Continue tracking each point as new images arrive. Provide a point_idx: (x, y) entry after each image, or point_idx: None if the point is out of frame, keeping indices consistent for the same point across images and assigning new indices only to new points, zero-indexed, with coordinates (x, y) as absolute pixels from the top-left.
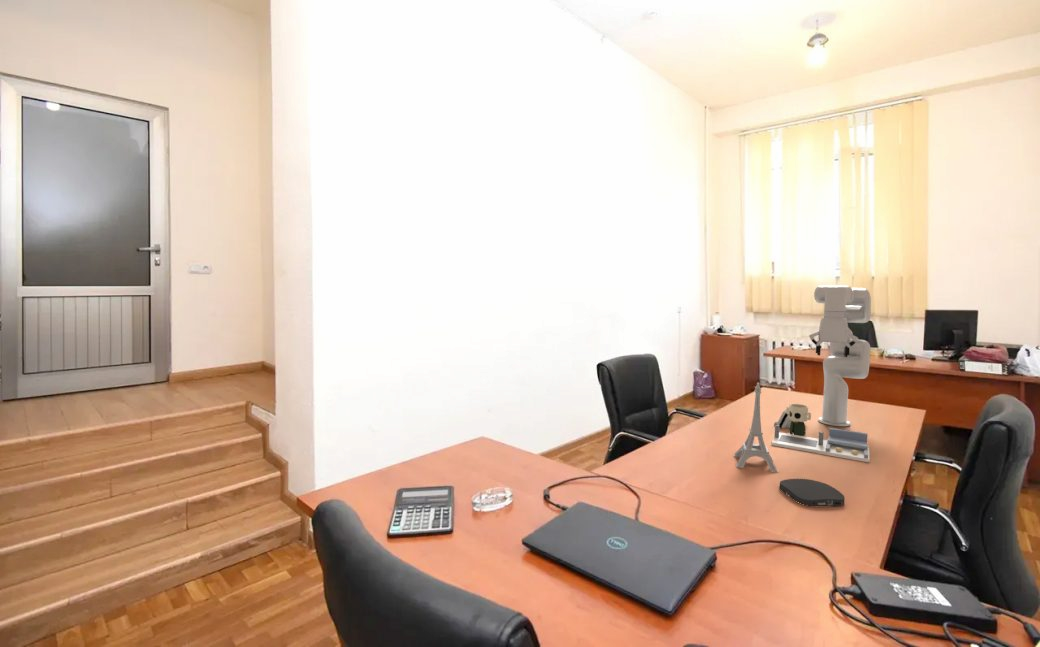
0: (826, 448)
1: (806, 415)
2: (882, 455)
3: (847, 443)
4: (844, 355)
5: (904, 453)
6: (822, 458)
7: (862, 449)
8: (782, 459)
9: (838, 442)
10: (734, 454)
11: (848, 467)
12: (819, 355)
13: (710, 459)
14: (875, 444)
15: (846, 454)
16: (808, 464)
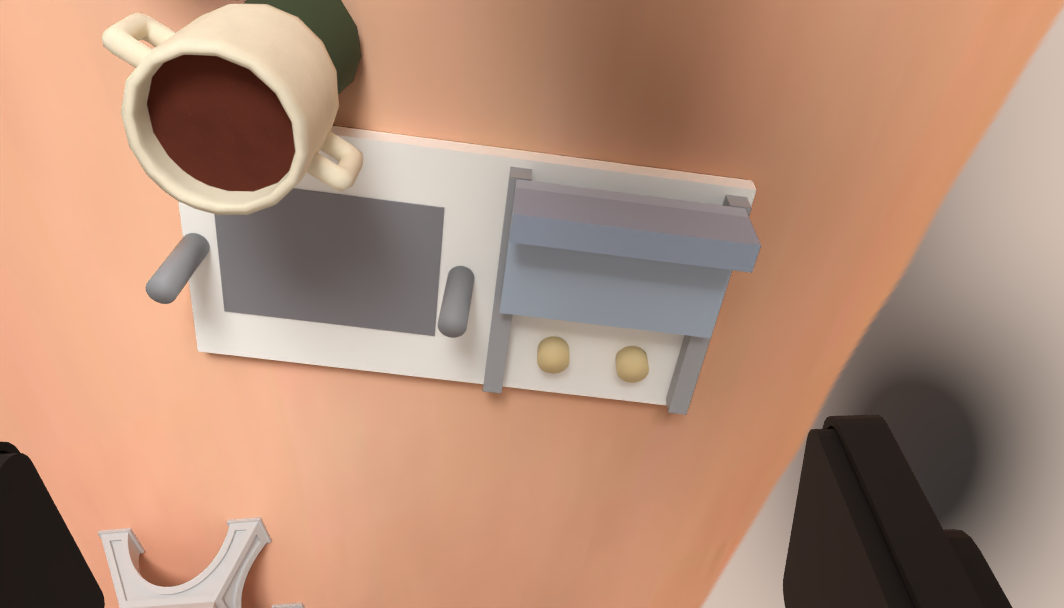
0: (486, 390)
1: (319, 149)
2: (800, 253)
3: (606, 325)
4: (804, 515)
5: (967, 149)
6: (469, 428)
7: None
8: (300, 506)
9: (557, 317)
10: (104, 541)
11: (573, 488)
12: (91, 593)
13: None
14: (849, 12)
15: (586, 384)
16: (409, 517)
